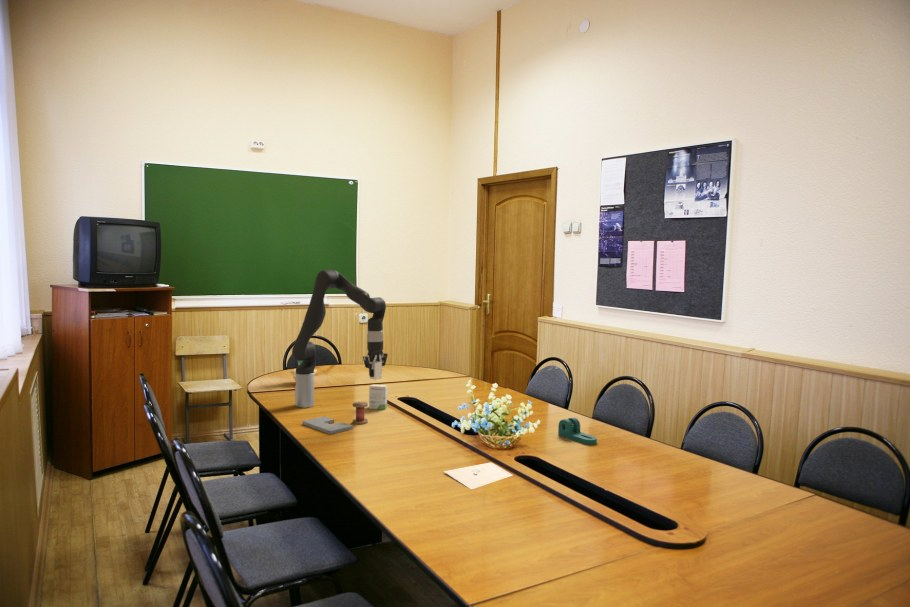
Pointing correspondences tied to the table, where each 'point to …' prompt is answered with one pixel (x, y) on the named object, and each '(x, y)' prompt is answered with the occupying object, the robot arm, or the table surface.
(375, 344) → the robot arm
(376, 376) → the block
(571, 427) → the bracket
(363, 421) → the spool
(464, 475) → the paper sheet
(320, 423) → the notched board
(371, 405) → the ink box
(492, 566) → the table surface
